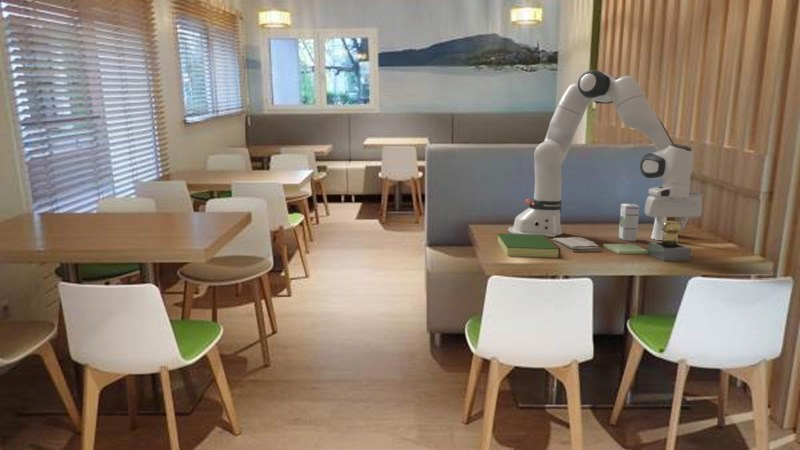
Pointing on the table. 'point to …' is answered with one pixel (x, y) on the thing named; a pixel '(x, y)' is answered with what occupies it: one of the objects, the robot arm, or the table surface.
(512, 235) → the hardcover book
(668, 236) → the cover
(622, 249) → the pad
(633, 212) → the syrup box
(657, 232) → the cosmetic bottle
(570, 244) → the washcloth
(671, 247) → the box
